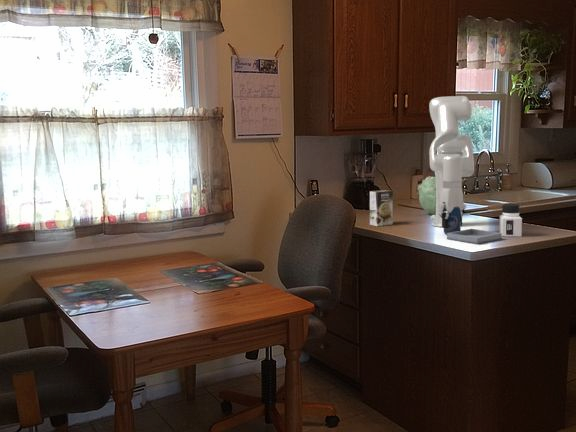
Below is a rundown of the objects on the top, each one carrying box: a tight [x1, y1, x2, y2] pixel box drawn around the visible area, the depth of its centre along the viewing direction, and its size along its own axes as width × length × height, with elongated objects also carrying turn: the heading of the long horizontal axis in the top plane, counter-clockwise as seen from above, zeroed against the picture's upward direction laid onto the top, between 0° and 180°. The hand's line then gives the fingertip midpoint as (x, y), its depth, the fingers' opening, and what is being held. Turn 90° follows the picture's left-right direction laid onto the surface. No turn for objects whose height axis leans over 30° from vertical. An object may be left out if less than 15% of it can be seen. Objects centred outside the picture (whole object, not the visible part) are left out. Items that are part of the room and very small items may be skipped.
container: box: [498, 202, 523, 237], centre depth 253 cm, size 8×8×13 cm
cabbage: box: [417, 175, 436, 216], centre depth 313 cm, size 16×19×20 cm
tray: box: [446, 228, 503, 245], centre depth 247 cm, size 15×15×2 cm
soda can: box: [443, 207, 462, 236], centre depth 259 cm, size 7×7×12 cm
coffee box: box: [369, 189, 394, 227], centre depth 289 cm, size 9×6×16 cm
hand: (452, 226), depth 259 cm, fingers open, 7 cm apart
